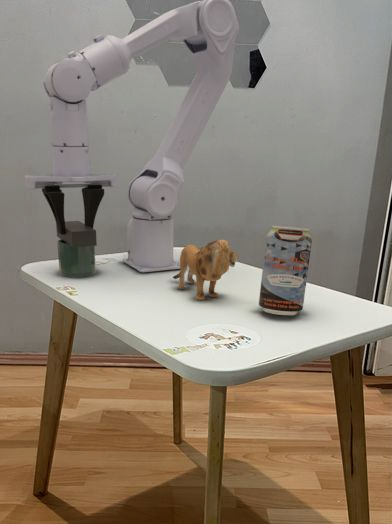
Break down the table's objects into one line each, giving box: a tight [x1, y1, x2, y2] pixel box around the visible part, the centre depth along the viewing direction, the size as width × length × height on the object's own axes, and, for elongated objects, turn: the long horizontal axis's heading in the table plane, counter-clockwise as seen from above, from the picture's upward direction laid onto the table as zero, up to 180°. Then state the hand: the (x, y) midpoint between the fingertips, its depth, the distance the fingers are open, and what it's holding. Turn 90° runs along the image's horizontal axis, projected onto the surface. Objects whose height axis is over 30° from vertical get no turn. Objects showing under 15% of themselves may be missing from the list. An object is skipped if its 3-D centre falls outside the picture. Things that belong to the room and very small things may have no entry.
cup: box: [56, 239, 97, 278], centre depth 96 cm, size 6×6×6 cm
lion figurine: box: [172, 239, 240, 301], centre depth 86 cm, size 15×5×9 cm, turn 35°
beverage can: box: [258, 225, 313, 316], centre depth 76 cm, size 6×7×12 cm
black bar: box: [55, 220, 98, 247], centre depth 94 cm, size 10×4×2 cm, turn 27°
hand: (75, 232), depth 94 cm, fingers closed on black bar, 4 cm apart
